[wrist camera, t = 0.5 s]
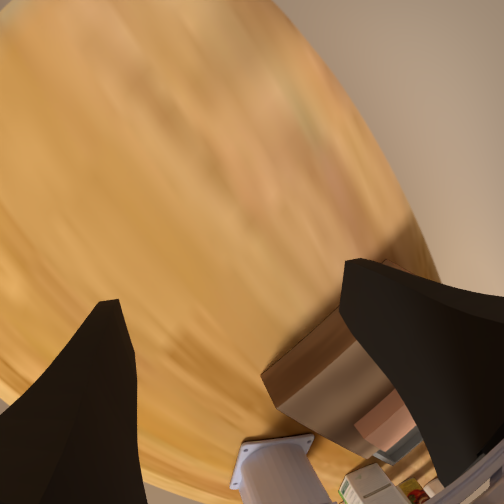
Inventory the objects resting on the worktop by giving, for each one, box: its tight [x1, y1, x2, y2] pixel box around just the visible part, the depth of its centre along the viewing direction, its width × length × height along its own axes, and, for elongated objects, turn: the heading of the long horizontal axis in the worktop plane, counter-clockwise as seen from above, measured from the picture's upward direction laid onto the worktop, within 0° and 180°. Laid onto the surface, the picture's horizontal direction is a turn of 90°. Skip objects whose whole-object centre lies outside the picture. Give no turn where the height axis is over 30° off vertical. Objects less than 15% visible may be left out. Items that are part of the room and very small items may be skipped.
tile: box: [354, 389, 416, 452], centre depth 25 cm, size 6×9×2 cm, turn 131°
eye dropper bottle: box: [423, 478, 444, 498], centre depth 49 cm, size 4×6×12 cm
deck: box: [261, 259, 414, 459], centre depth 26 cm, size 18×14×4 cm
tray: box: [373, 425, 423, 466], centre depth 34 cm, size 14×14×2 cm
